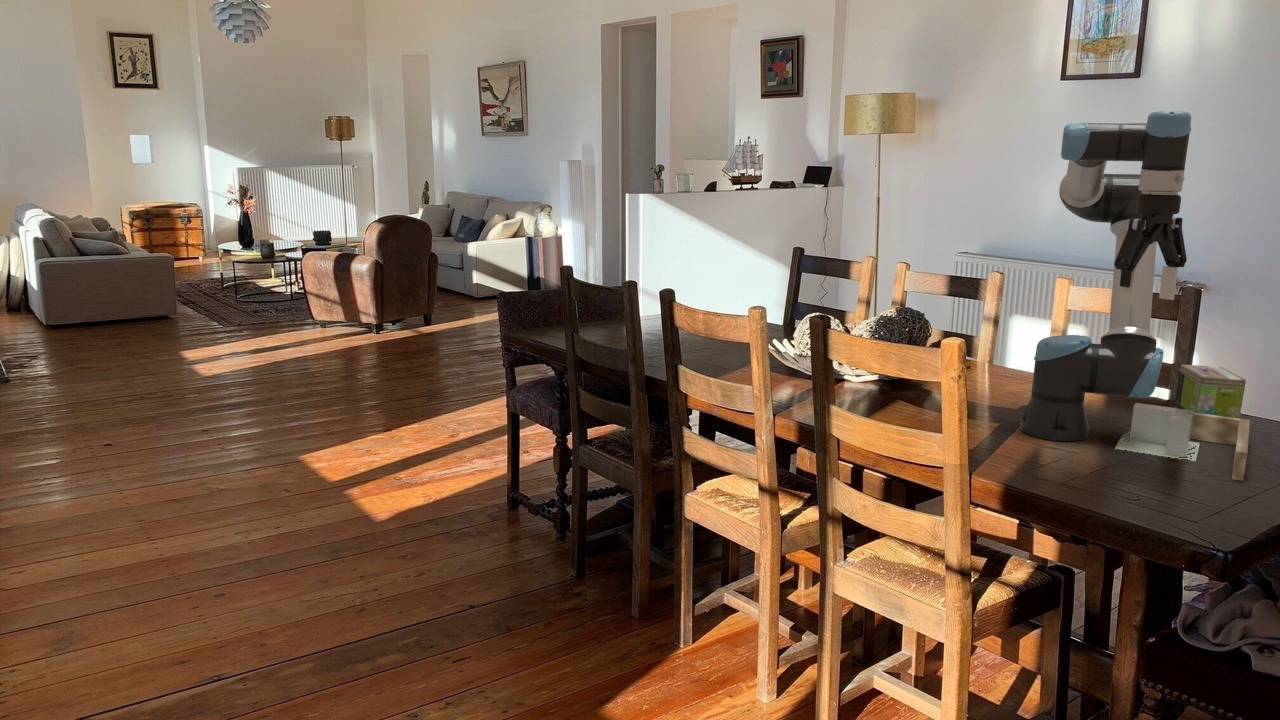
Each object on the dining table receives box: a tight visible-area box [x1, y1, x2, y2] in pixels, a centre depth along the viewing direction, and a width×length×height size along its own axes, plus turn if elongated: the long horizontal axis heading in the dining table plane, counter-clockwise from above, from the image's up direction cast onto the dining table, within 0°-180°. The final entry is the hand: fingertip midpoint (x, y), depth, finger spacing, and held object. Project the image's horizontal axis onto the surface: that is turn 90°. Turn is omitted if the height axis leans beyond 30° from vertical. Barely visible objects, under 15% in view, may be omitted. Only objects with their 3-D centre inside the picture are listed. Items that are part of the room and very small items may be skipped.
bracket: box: [1129, 402, 1194, 457], centre depth 221 cm, size 12×12×8 cm
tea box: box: [1173, 364, 1247, 419], centre depth 234 cm, size 15×10×15 cm, turn 168°
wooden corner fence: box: [1190, 412, 1251, 482], centre depth 216 cm, size 20×30×6 cm, turn 148°
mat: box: [1114, 437, 1200, 463], centre depth 222 cm, size 16×16×1 cm
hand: (1146, 301), depth 193 cm, fingers open, 13 cm apart
